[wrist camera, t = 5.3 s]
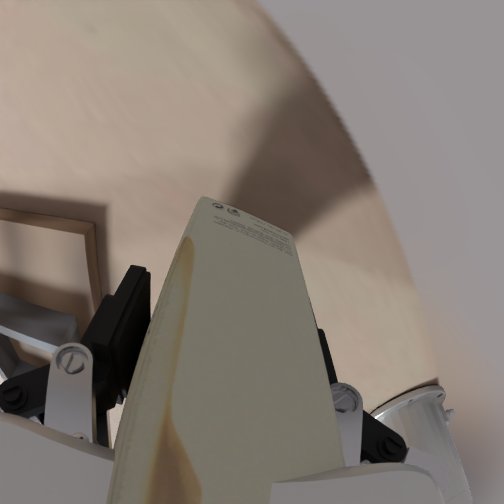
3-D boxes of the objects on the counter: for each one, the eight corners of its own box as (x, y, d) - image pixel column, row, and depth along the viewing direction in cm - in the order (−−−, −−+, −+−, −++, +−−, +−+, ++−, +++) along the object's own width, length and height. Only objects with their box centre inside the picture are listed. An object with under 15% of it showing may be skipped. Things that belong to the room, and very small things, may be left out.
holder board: (94, 223, 15) (59, 265, 11) (120, 387, 24) (110, 425, 20) (-39, 202, 13) (-73, 229, 9) (13, 352, 22) (-3, 381, 18)
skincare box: (201, 190, 11) (88, 584, 1) (295, 232, 12) (381, 571, 2) (157, 302, 14) (95, 547, 4) (234, 330, 15) (230, 568, 5)
